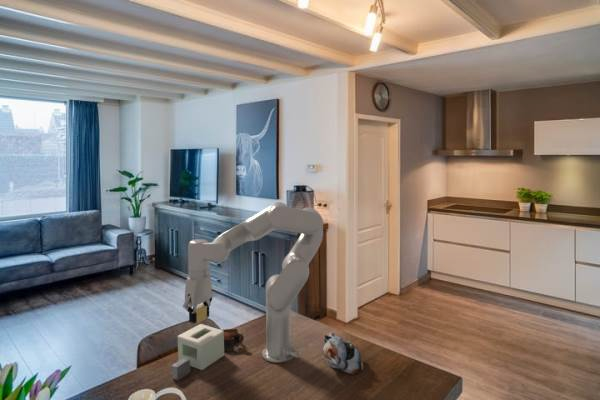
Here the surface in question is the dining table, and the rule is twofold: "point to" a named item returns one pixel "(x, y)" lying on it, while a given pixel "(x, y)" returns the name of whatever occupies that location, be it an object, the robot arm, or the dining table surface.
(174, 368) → the block
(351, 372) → the lucky cat figurine
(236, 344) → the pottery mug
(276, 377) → the dining table surface
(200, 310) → the block
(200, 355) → the cream slotted box
